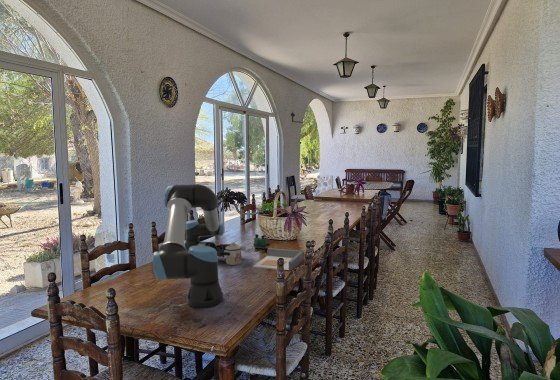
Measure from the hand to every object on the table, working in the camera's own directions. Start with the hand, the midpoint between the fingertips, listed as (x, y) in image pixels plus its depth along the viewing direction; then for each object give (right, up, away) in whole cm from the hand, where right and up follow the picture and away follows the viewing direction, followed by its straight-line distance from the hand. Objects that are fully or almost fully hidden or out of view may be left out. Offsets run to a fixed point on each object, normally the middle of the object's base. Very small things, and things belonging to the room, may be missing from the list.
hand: (240, 251), depth 214 cm
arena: (+22, -6, -2) cm, 23 cm away
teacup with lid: (-3, -7, +2) cm, 8 cm away
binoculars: (+11, -4, +25) cm, 28 cm away
